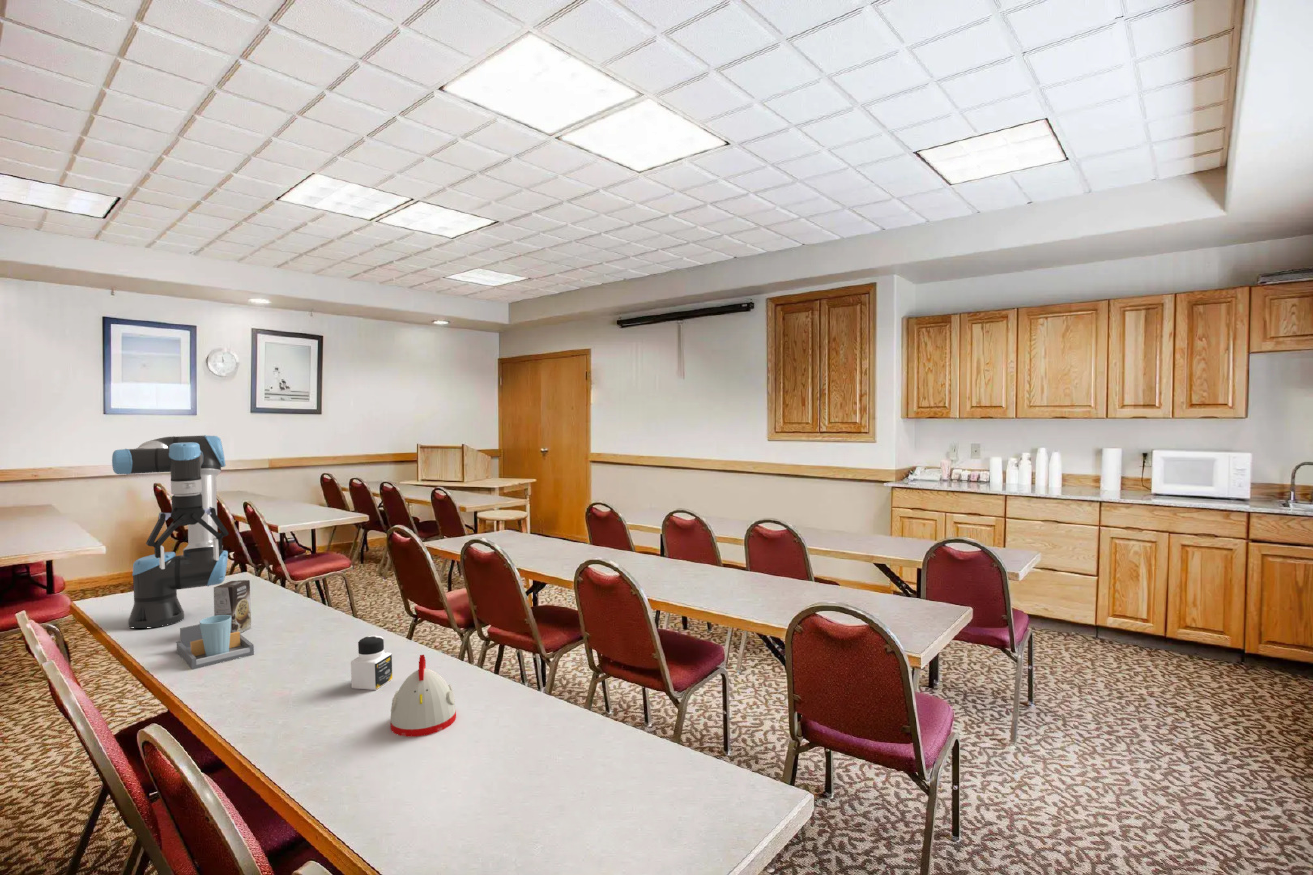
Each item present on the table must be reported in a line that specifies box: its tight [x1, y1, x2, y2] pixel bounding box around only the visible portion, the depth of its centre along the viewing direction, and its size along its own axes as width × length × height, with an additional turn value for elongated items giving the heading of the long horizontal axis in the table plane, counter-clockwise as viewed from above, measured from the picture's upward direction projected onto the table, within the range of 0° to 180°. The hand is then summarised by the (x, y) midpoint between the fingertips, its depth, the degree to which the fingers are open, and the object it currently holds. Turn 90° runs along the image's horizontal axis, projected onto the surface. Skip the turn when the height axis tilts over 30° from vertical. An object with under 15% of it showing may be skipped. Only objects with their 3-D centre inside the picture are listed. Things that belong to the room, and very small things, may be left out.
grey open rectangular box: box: [176, 619, 255, 670], centre depth 193 cm, size 20×15×7 cm
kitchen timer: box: [390, 654, 457, 738], centre depth 147 cm, size 14×14×15 cm
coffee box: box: [213, 579, 252, 634], centre depth 212 cm, size 9×6×16 cm
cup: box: [199, 615, 231, 657], centre depth 189 cm, size 8×8×10 cm
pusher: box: [190, 631, 241, 656], centre depth 194 cm, size 6×12×4 cm, turn 136°
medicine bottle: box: [350, 635, 393, 691], centre depth 168 cm, size 7×7×12 cm
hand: (190, 564), depth 198 cm, fingers open, 13 cm apart
